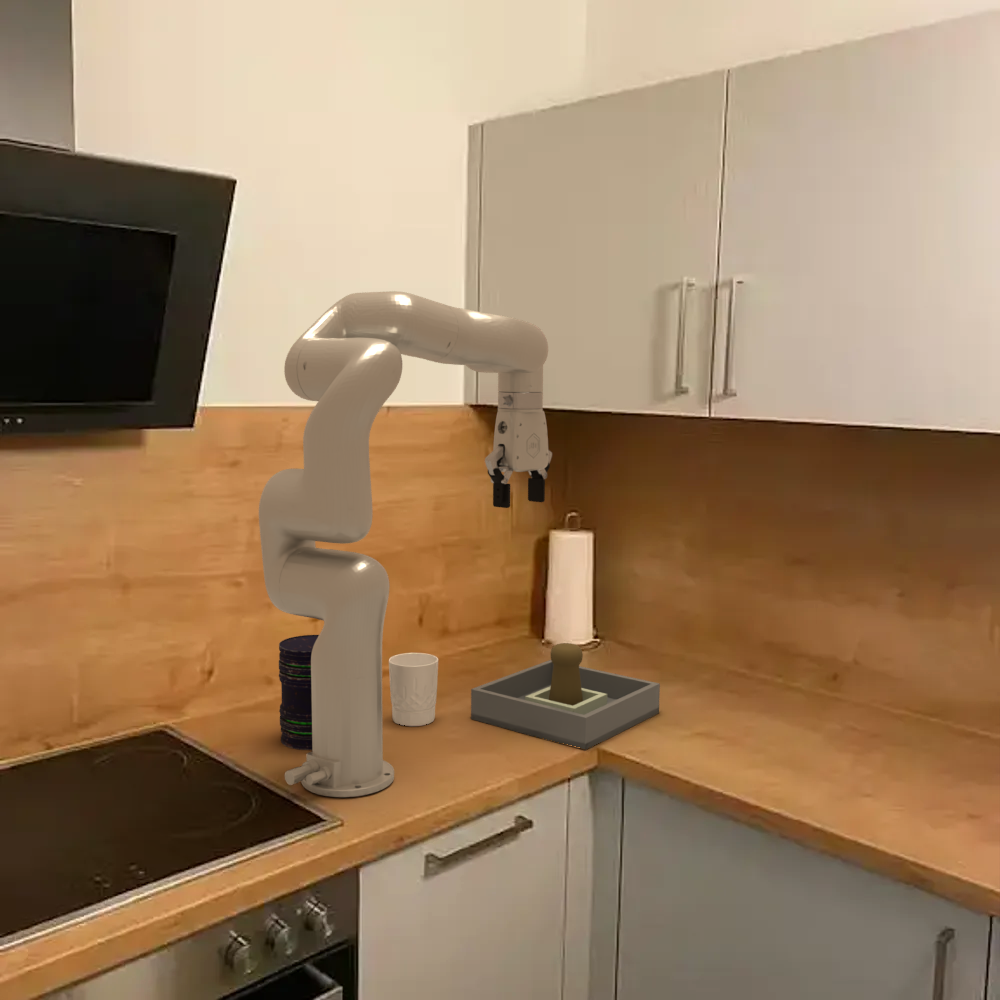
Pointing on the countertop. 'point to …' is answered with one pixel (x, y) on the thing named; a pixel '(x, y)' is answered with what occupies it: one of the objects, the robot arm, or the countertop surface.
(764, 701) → the countertop surface
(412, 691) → the white cup
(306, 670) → the storage jar
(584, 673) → the open box
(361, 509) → the robot arm
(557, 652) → the brown pepper mill
